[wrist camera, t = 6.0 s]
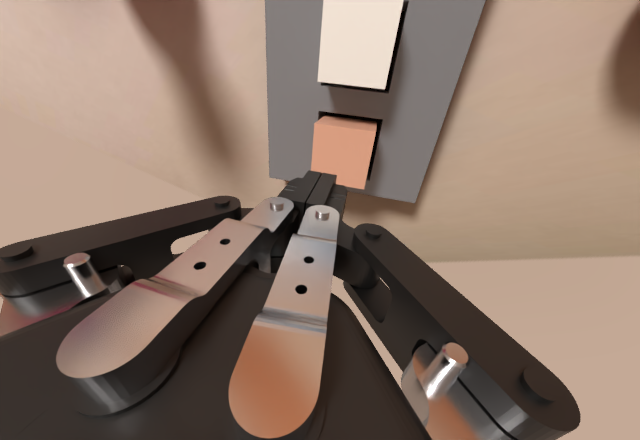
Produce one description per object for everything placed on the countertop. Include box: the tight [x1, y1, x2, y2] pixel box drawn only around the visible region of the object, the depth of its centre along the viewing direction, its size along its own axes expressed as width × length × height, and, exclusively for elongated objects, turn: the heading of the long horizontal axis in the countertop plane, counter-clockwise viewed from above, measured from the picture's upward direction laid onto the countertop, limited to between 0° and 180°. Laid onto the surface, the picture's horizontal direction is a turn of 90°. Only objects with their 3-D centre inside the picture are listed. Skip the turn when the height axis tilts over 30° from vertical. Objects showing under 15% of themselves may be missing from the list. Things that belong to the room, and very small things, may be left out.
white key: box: [317, 0, 404, 89], centre depth 16 cm, size 4×4×4 cm
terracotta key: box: [311, 115, 377, 189], centre depth 20 cm, size 4×4×4 cm
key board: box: [265, 0, 486, 203], centre depth 18 cm, size 14×22×3 cm, turn 174°
